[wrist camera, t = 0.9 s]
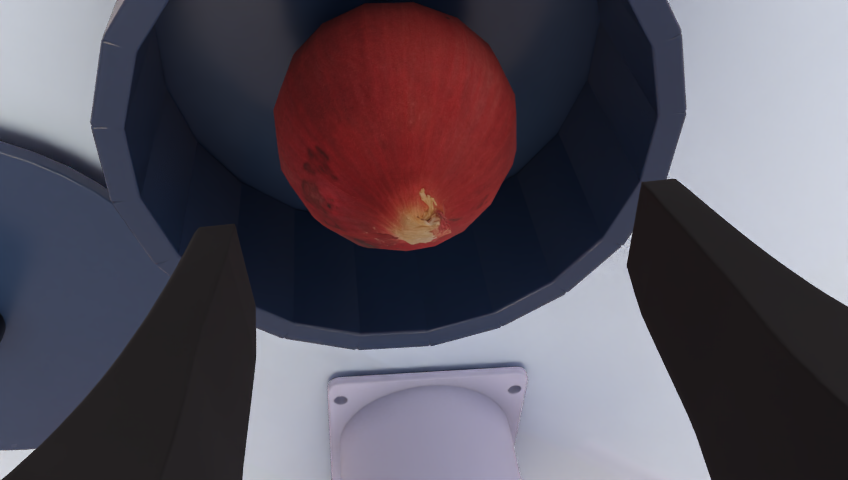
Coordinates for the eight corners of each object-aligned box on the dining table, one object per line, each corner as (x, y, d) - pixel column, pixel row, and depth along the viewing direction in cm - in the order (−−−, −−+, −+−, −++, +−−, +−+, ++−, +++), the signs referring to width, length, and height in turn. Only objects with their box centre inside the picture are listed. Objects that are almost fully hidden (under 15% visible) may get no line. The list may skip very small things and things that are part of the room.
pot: (574, 221, 28) (619, 336, 24) (174, 237, 26) (152, 362, 22) (670, -214, 19) (766, -145, 15) (78, -230, 18) (13, -157, 14)
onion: (392, 171, 25) (421, 371, 19) (235, 67, 22) (211, 265, 16) (528, 38, 23) (610, 222, 17) (372, -98, 20) (403, 65, 14)
